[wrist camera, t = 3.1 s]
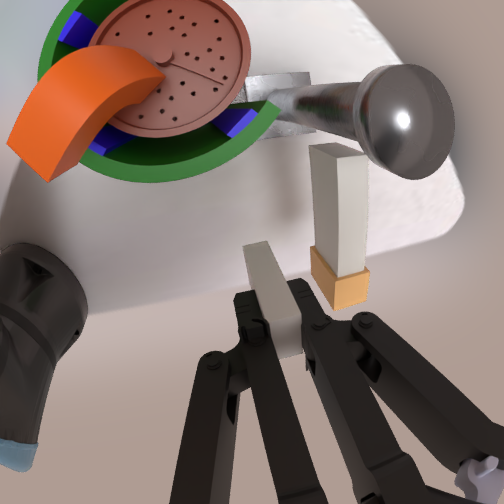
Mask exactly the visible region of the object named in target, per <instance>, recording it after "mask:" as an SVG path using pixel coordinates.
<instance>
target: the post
mask: <svg viewBox="0 0 504 504" xmlns="http://www.w3.org/2000/svg"><path fill="white" fill-rule="evenodd" d="M244 86H245V92H246V99H247V102H253V101H262V100H268V101H270V102H271V103H272V104H274V105H275V106H277V107H278V108H279V109H281V112H280V113H279V115H278V116H277V118H276V119H275V120H274V122H273V123H272V124H271V126H270V127H269V128H268V129H267V130H266V131H265V132H264V133H263V134H262V135H261V136H260V138H259V139H257V140H261V139H268V138H274V137H281V136H289V135H297V134H305V133H314V132H316V129H318V130H321V131H325V132H328V133H332V134H335V135H338V136H342V137H345V138H348V139H351V140H354V141H358V142H359V144H360V146H361V148H362V150H363V151H364V153H365V154H366V155H367V157H368V158H369V159H370V160H371V161H372V162H373V163H375V164H376V165H378V166H379V167H381V168H383V169H386V170H388V171H390V172H392V173H394V174H396V175H398V176H400V177H402V178H405V179H410V180H418V179H423V178H425V177H428V176H429V175H431V174H433V173H434V172H435V171H436V170H438V168H439V167H440V166H441V165H442V164H443V162H444V161H445V159H446V158H447V156H448V154H449V151H450V149H451V146H452V142H453V137H454V129H455V122H454V121H455V120H454V112H453V107H452V103H451V100H450V97H449V95H448V93H447V91H446V89H445V87H444V86H443V84H442V83H441V81H440V80H439V79H438V78H437V77H436V76H435V75H434V74H433V73H432V72H430V71H429V70H427V69H425V68H423V67H421V66H417V65H411V64H402V65H386V66H382V67H378V68H376V69H374V70H373V71H371V72H370V73H369V74H368V75H367V76H366V77H365V78H364V79H363V81H362V82H350V83H333V84H320V85H311V82H310V74H309V72H299V73H283V74H270V75H260V76H252V77H246V79H245V82H244Z"/></svg>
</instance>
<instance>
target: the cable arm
mask: <svg viewBox="0 0 504 504" xmlns="http://www.w3.org/2000/svg"><path fill="white" fill-rule="evenodd" d="M309 155H310V166H311V179H312V193H313V210H314V229H315V246H311V247H310V255H311V275H312V276H313V278H314V280H315V281H316V283H317V284H318V286H319V288H320V289H321V291H322V293H323V294H324V296H325V297H326V299H327V301H328V302H329V304H330V306H331V307H332V309H333V311H336V310H339V309H343V308H346V307H349V306H352V305H355V304H358V303H362V302H365V301H366V299H367V291H368V284H369V276H370V271H369V270H368V269H367V268H366V267H365V255H366V242H367V225H368V200H369V158H368V157H367V155H366V154H365V153H363V152H361V151H358V150H355V149H353V148H350V147H347V146H345V145H342V144H339V143H326V144H318V145H309Z"/></svg>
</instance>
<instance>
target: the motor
mask: <svg viewBox="0 0 504 504" xmlns="http://www.w3.org/2000/svg"><path fill="white" fill-rule="evenodd" d="M250 60H251V46H250V40H249V36H248V33H247V30H246V28H245V25H244V23H243V22H242V20H241V18H240V17H239V16H238V14H237V13H236V12H235V11H234V10H233V9H232V8H231V7H230V6H229V5H228V4H227V3H225V2H224V1H223V0H69V2H68V3H67V4H66V5H65V6H64V8H63V9H62V10H61V12H60V13H59V15H58V16H57V18H56V19H55V21H54V23H53V25H52V27H51V28H50V30H49V33H48V35H47V37H46V40H45V42H44V45H43V48H42V52H41V57H40V61H39V67H38V83H37V85H36V86H35V88H34V89H33V91H32V92H31V94H30V95H29V97H28V99H27V100H26V102H25V104H24V106H23V108H22V110H21V112H20V114H19V116H18V118H17V120H16V122H15V125H14V127H13V130H12V132H11V134H10V136H9V139H8V141H7V145H8V146H9V147H11V149H12V150H13V151H15V153H16V154H18V156H19V157H20V158H22V159H23V160H24V161H25V162H26V163H27V164H28V165H29V166H30V167H31V168H32V169H33V170H34V171H35V172H36V173H38V174H39V175H40V176H41V177H42V178H43V179H44V180H45V181H46V182H47V183H48V182H50V181H51V180H53V179H54V178H56V177H57V176H59V175H61V174H62V173H64V172H66V171H67V170H69V169H70V168H72V167H74V166H76V165H77V164H78V162H80V163H82V164H83V165H85V166H87V167H88V168H90V169H92V170H94V171H96V172H98V173H101V174H103V175H106V176H109V177H112V178H116V179H120V180H125V181H131V182H141V183H158V182H168V181H175V180H180V179H185V178H189V177H192V176H196V175H199V174H202V173H204V172H207V171H209V170H212V169H214V168H216V167H218V166H220V165H222V164H224V163H226V162H228V161H229V160H231V159H233V158H234V157H236V156H237V155H239V154H240V153H242V152H243V151H244V150H246V149H247V148H248V147H249V146H251V145H252V144H253V143H254V142H255V141H256V140H257V139H259V138H260V136H261V135H262V134H263V133H264V132H265V131H266V130H267V129H268V128H269V127H270V126H271V124H272V123H273V122H274V120H275V119H276V118H277V116H278V115H279V113H280V112H281V109H279V108H278V107H277V106H275V105H274V104H272V103H271V102H270V101H268V100H262V101H253V102H244V103H236V104H230V103H231V102H232V101H233V100H234V99H235V97H236V96H237V94H238V93H239V91H240V90H241V88H242V86H243V84H244V82H245V79H246V77H247V74H248V71H249V66H250ZM206 123H207V124H206ZM204 124H205V125H204Z"/></svg>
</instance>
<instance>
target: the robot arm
mask: <svg viewBox="0 0 504 504" xmlns="http://www.w3.org/2000/svg"><path fill="white" fill-rule="evenodd" d="M243 251H244V257H245V262H246V267H247V272H248V277H249V282H250V286H251V289H252V290H250V291H245V292H241V293H236V295H235V298H234V300H233V302H234V306H235V312H236V317H237V321H238V333H239V337H240V341H239V343H238V344H237V345H236V346H235V348H233V349H232V350H230V351H228V352H226V353H223V352H221V351H211V352H208V353H206V354H204V355H203V356H202V357H201V358H200V360H199V363H198V366H197V371H196V375H195V380H194V384H193V389H192V393H191V398H190V402H189V407H188V411H187V416H186V422H185V426H184V430H183V435H182V440H181V445H180V450H179V455H178V460H177V465H176V470H175V475H174V481H173V486H172V492H171V497H170V503H169V504H229V498H230V489H231V479H232V469H233V459H234V450H235V440H236V430H237V421H238V410H239V401H240V393H241V392H242V391H244V390H246V389H248V388H250V387H251V390H252V394H253V399H254V403H255V407H256V412H257V416H258V420H259V425H260V429H261V433H262V437H263V441H264V445H265V450H266V453H267V458H268V462H269V466H270V470H271V473H272V477H273V481H274V485H275V489H276V493H277V497H278V503H279V504H328V501H327V498H326V495H325V493H324V491H323V489H322V487H321V485H320V483H319V480H318V478H317V474H316V471H315V468H314V466H313V462H312V460H311V456H310V453H309V451H308V447H307V445H306V442H305V439H304V435H303V433H302V429H301V426H300V423H299V420H298V417H297V414H296V411H295V408H294V405H293V402H292V399H291V396H290V393H289V390H288V387H287V383H286V380H285V377H284V374H283V371H282V368H281V365H280V362H279V359H283V358H287V357H291V356H294V355H298V354H302V353H303V349H304V352H305V354H306V371H307V370H308V368H309V371H310V373H311V376H312V378H313V381H314V383H315V386H316V388H317V391H318V394H319V396H320V398H321V401H322V404H323V406H324V409H325V411H326V414H327V417H328V419H329V422H330V424H331V427H332V429H333V432H334V435H335V437H336V440H337V442H338V445H339V448H340V450H341V453H342V455H343V458H344V461H345V463H346V466H347V468H348V471H349V474H350V476H351V479H352V484H353V491H354V495H355V497H356V500H357V502H358V504H496V503H497V501H498V499H499V497H500V494H501V493H502V490H503V488H504V427H503V426H501V425H499V424H496V423H493V422H492V421H491V420H490V419H489V418H488V417H487V416H486V415H485V414H484V413H483V412H482V411H480V409H478V408H477V407H476V406H475V405H474V404H473V403H472V402H471V401H470V400H469V399H468V398H467V397H466V396H465V395H464V394H463V393H462V392H461V391H460V390H459V389H457V388H456V387H455V386H454V385H453V384H452V383H451V382H450V381H449V380H448V379H447V378H446V377H445V376H444V375H443V374H441V373H440V372H439V371H438V370H437V369H436V368H435V367H434V366H433V365H431V364H430V363H429V362H428V361H427V360H426V359H425V358H424V357H423V356H422V355H421V354H420V353H418V352H417V351H416V350H415V349H414V348H413V347H412V346H411V345H409V344H408V343H407V342H406V341H405V340H404V339H403V338H402V337H400V336H399V335H398V334H397V333H396V332H395V331H394V330H392V329H391V328H390V327H389V326H388V325H387V324H385V323H384V322H383V321H382V320H381V319H380V318H379V317H378V316H376V315H375V314H373V313H370V312H360V313H357V314H356V315H354V316H353V318H352V320H347V321H338V320H333V319H332V318H331V317H330V316H328V315H326V314H325V313H324V311H323V309H322V307H321V306H320V304H319V302H318V300H317V299H316V297H315V295H314V293H313V291H312V290H311V288H310V286H309V284H308V283H307V282H306V281H305V280H303V279H302V278H298V279H294V280H290V281H286V280H285V278H284V276H283V274H282V271H281V269H280V267H279V265H278V263H277V261H276V259H275V257H274V255H273V252H272V250H271V248H270V246H269V244H268V242H267V241H263V242H259V243H254V244H250V245H245V246H243ZM86 318H87V302H86V298H85V295H84V292H83V290H82V288H81V286H80V284H79V282H78V281H77V279H76V278H75V276H74V275H73V273H72V272H71V271H70V270H69V269H68V268H67V266H66V265H65V264H64V263H62V262H61V261H60V260H59V259H58V258H57V257H55V256H54V255H53V254H51V253H50V252H48V251H46V250H44V249H42V248H40V247H38V246H35V245H31V244H25V243H19V244H14V245H11V246H9V247H7V248H6V249H4V250H3V251H2V252H1V254H0V464H1V465H3V466H5V467H8V468H10V469H12V470H15V471H18V472H26V471H28V470H29V469H30V468H31V467H32V463H33V459H34V456H35V453H36V449H37V447H38V442H37V440H38V434H39V429H40V424H41V420H42V415H43V411H44V407H45V402H46V398H47V395H48V391H49V387H50V384H51V380H52V377H53V373H54V370H55V366H56V364H57V362H58V361H59V360H60V358H61V357H62V356H63V355H64V354H65V353H66V352H67V350H68V349H69V348H70V347H71V346H72V345H73V343H74V342H75V341H76V340H77V339H78V338H79V336H80V334H81V333H82V330H83V327H84V324H85V321H86ZM369 386H370V387H371V388H372V389H373V390H374V391H375V392H376V393H377V395H378V396H379V397H380V398H381V399H382V400H383V401H384V402H385V403H386V405H387V406H388V407H389V408H390V409H391V410H392V411H393V412H394V413H395V414H396V415H397V417H398V418H399V419H400V420H401V421H402V422H403V423H404V424H405V425H406V426H407V427H408V429H409V430H410V431H411V432H412V433H413V434H414V435H415V436H416V437H417V438H418V439H419V440H420V442H421V443H422V444H423V445H424V446H425V447H426V448H427V449H428V450H429V451H430V453H432V455H433V456H434V457H435V458H436V459H437V460H438V461H439V462H440V463H441V464H442V465H443V466H445V467H446V468H448V469H449V470H450V471H452V472H454V473H456V474H457V475H456V478H455V485H456V486H457V487H459V488H460V489H461V490H463V491H464V493H465V498H462V497H459V496H456V495H453V494H449V493H447V492H444V491H441V490H438V489H435V488H432V487H430V486H427V485H425V483H424V481H423V479H422V477H421V475H420V473H419V470H418V468H417V466H416V464H415V462H414V460H413V459H412V457H411V456H410V455H409V454H407V453H405V452H403V451H402V450H401V448H400V447H399V444H398V443H397V441H396V438H395V437H394V434H393V432H392V430H391V428H390V426H389V424H388V422H387V420H386V418H385V416H384V414H383V412H382V410H381V408H380V406H379V404H378V402H377V400H376V398H375V397H374V395H373V393H372V391H371V389H370V387H369Z"/></svg>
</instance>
